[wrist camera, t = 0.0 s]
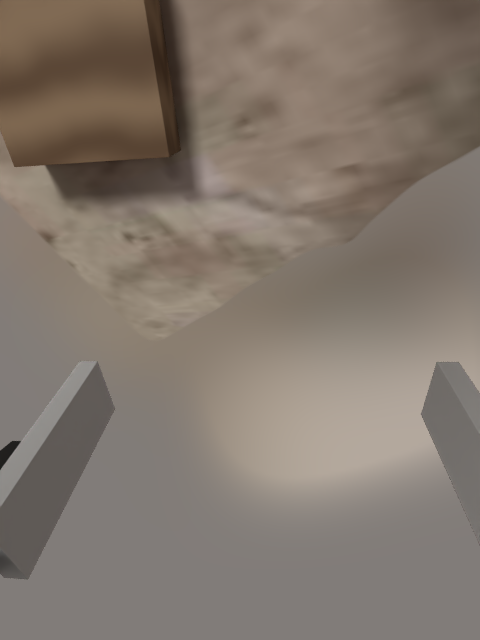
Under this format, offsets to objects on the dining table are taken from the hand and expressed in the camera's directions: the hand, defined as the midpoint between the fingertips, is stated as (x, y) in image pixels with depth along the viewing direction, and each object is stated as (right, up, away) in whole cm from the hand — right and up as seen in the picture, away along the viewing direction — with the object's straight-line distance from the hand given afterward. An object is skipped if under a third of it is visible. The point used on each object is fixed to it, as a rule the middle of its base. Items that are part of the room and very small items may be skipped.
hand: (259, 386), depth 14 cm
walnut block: (-15, +26, +18) cm, 35 cm away
